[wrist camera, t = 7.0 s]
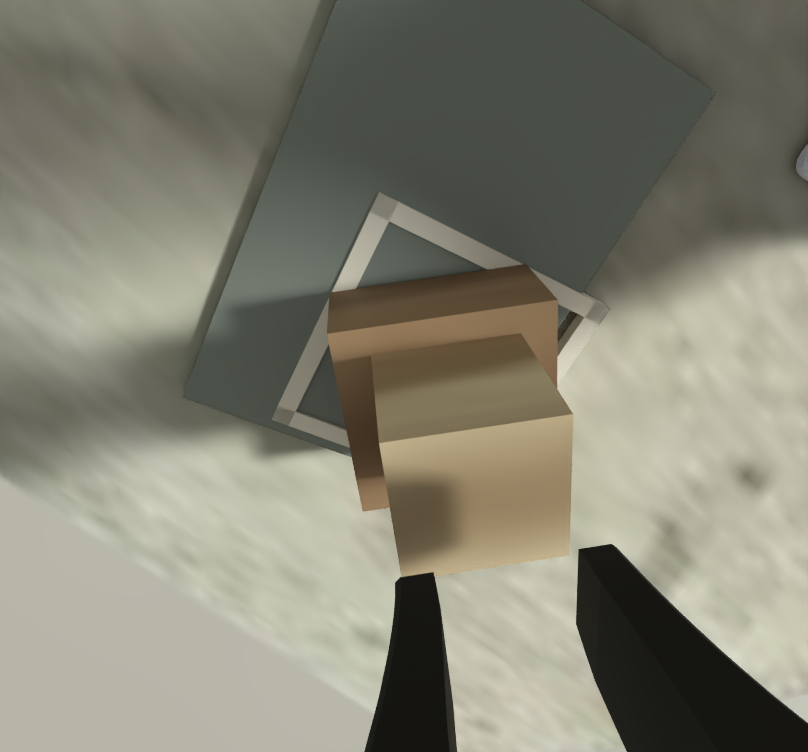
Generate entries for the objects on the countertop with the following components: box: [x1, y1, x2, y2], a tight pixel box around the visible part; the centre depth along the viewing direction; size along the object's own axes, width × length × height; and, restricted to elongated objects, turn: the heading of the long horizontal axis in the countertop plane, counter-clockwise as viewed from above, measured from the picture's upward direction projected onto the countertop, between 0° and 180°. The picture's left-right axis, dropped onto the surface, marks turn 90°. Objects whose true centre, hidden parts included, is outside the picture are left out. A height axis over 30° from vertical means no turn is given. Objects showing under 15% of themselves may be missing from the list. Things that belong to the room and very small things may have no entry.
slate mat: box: [182, 0, 716, 457], centre depth 18 cm, size 15×11×1 cm
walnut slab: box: [327, 264, 558, 511], centre depth 18 cm, size 6×6×3 cm
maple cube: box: [371, 333, 573, 577], centre depth 15 cm, size 4×4×4 cm
